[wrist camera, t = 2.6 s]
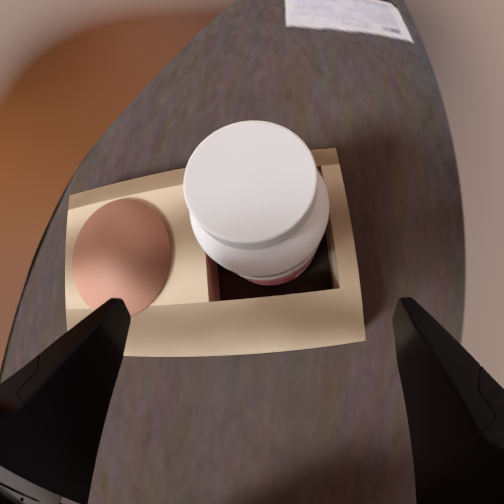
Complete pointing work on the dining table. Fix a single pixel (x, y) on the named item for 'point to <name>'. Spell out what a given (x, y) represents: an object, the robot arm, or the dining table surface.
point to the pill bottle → (256, 201)
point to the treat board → (198, 275)
